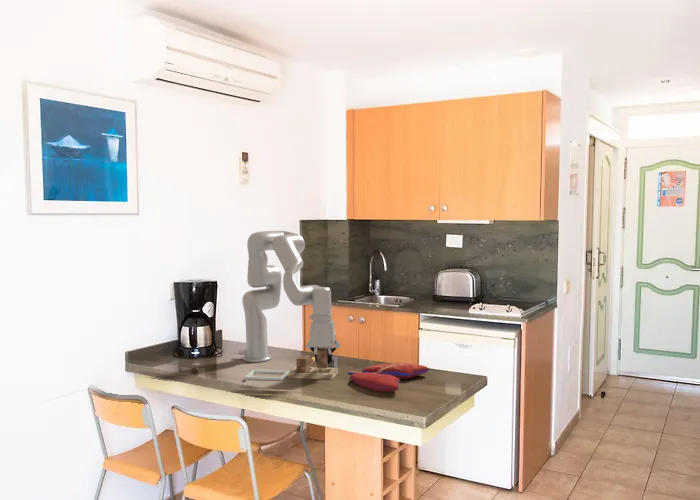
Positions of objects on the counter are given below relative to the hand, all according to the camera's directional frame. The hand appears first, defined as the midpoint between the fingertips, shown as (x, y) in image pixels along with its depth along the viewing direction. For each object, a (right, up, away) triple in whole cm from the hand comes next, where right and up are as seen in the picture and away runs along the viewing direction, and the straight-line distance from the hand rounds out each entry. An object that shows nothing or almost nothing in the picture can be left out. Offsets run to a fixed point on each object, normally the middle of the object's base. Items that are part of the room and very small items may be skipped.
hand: (323, 363), depth 242 cm
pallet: (-4, -6, +1) cm, 7 cm away
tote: (-22, -6, +1) cm, 23 cm away
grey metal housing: (+2, -5, +10) cm, 12 cm away
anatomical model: (+22, -6, -5) cm, 24 cm away
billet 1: (-8, -5, +2) cm, 10 cm away
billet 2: (0, -1, 0) cm, 1 cm away
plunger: (-3, -3, +11) cm, 12 cm away
